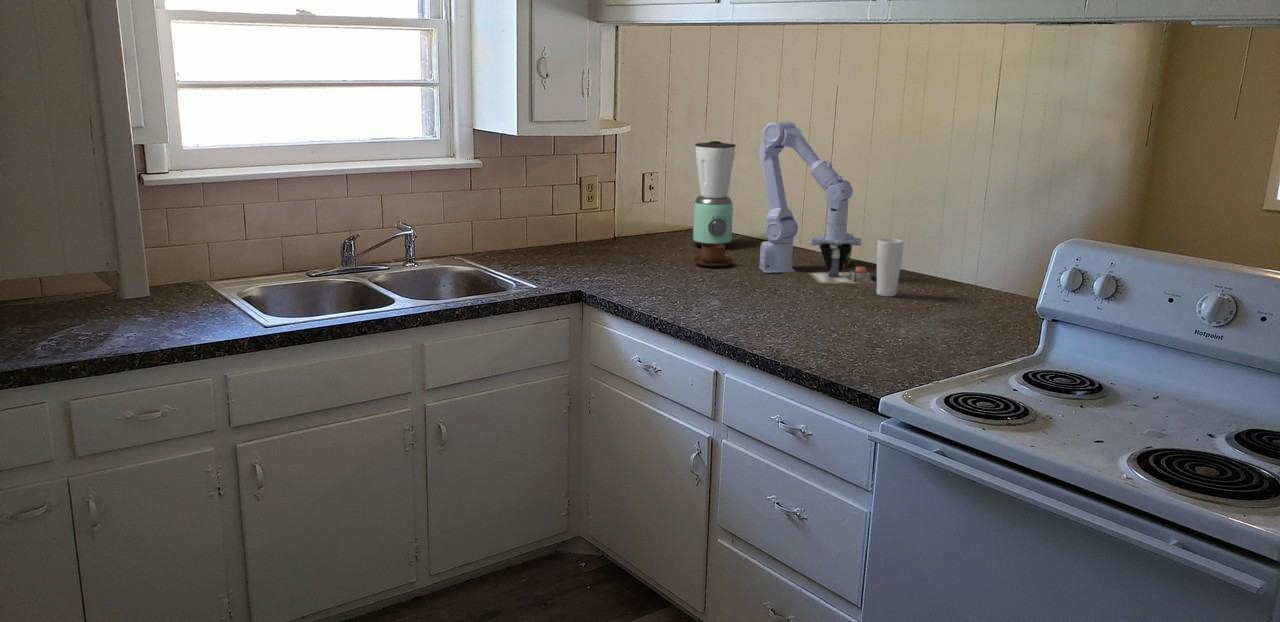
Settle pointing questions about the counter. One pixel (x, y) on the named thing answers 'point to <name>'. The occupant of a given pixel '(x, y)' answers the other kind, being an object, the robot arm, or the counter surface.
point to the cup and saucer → (713, 256)
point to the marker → (834, 263)
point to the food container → (849, 252)
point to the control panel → (843, 277)
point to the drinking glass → (888, 266)
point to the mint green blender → (713, 194)
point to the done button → (860, 269)
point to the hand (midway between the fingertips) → (833, 269)
